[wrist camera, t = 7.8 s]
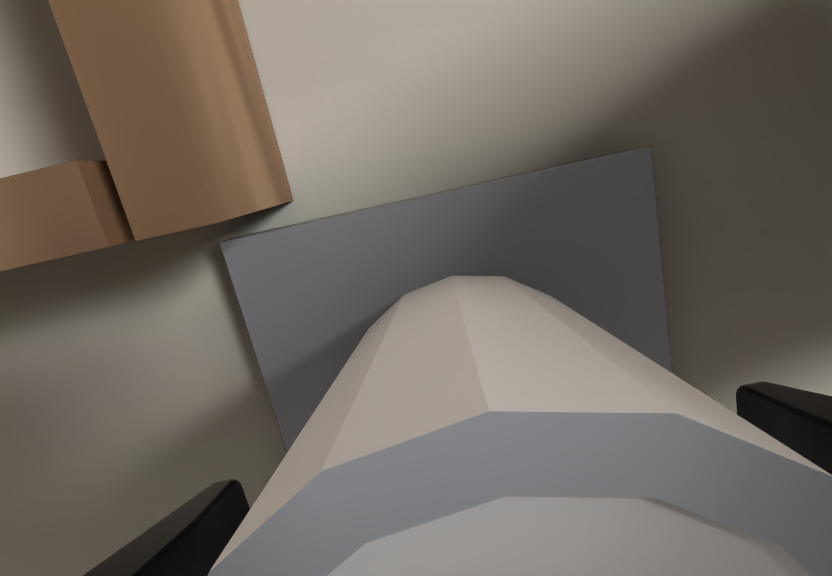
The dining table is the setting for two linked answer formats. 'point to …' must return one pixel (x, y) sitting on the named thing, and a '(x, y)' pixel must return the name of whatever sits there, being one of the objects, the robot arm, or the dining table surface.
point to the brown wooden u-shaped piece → (150, 132)
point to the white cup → (526, 459)
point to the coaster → (452, 267)
